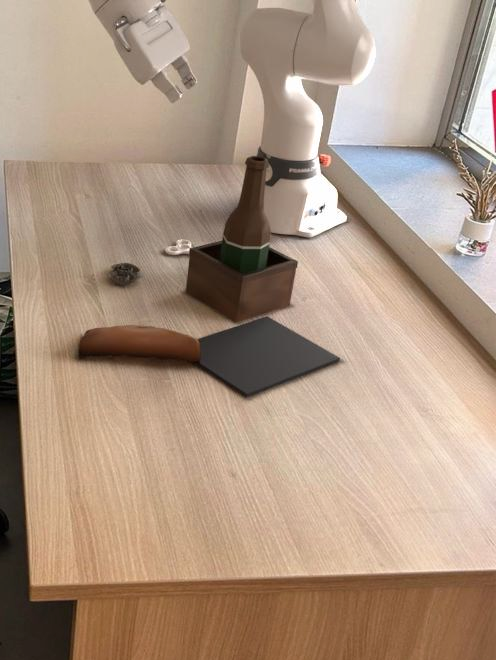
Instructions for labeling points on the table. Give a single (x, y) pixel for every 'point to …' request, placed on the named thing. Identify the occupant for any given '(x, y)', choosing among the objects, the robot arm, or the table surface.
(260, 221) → the beer bottle
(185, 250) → the fidget spinner
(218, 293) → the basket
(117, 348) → the sunglasses case
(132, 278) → the corroded twin loop
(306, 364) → the mat
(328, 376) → the table surface
